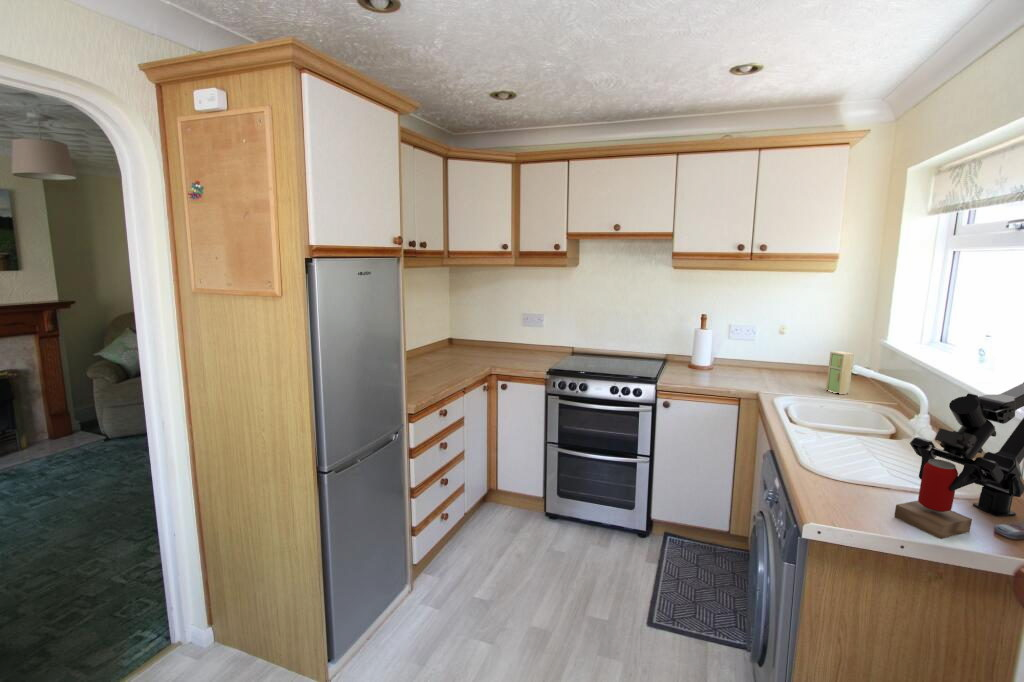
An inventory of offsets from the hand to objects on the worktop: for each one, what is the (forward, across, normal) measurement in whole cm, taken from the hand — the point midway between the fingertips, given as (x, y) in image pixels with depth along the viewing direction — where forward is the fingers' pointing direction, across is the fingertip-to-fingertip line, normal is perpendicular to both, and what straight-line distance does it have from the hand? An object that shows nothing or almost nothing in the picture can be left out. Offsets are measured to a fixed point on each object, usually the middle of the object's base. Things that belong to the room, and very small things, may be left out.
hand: (934, 483), depth 130 cm
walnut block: (+7, 0, +9) cm, 11 cm away
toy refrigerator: (-61, -106, +79) cm, 146 cm away
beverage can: (+4, 0, +6) cm, 7 cm away
